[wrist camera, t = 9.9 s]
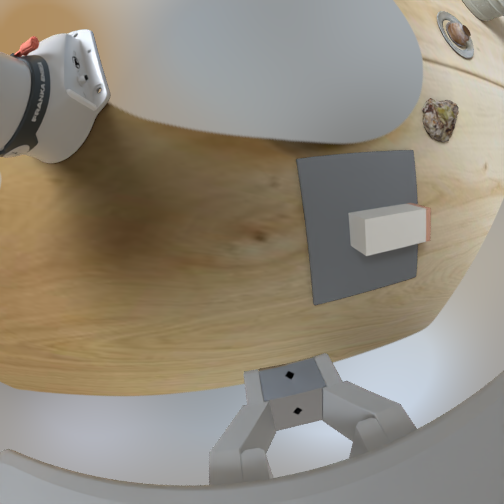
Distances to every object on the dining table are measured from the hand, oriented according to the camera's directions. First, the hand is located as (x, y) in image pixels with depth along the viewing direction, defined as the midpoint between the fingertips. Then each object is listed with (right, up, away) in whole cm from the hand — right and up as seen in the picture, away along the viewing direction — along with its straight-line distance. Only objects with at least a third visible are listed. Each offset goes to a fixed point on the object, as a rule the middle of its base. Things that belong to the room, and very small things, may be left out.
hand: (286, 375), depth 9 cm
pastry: (+42, +51, +20) cm, 68 cm away
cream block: (+13, +7, +27) cm, 31 cm away
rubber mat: (+16, +9, +30) cm, 35 cm away
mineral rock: (+32, +28, +26) cm, 49 cm away
